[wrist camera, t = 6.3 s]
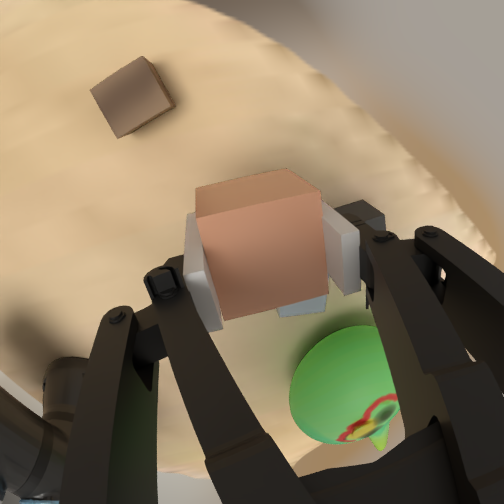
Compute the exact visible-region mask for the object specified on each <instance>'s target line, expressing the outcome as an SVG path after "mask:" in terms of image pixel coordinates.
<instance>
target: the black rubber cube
mask: <svg viewBox="0 0 504 504" xmlns="http://www.w3.org/2000/svg"><path fill="white" fill-rule="evenodd" d="M334 210H335V211H336V212H338V213H339V214H340V215H341V214H345V213H350V214H353V215H356V216H358V217H359V218H360V219H362V220H363V221H364V222H365V223H366V224H368V225H369V226H371V227H372V228H373V229H375V230H376V231H378V230H384V231H386V224H385V215H384V214H383V213H381V212H380V211H379V210H377V209H376V208H374V207H373V206H371V205H370V204H368V203H367V202H365V201H364V200H360V201H357V202H353V203H350V204H347V205H344V206H341V207H338V208H334Z"/></svg>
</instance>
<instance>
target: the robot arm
mask: <svg viewBox="0 0 504 504" xmlns="http://www.w3.org/2000/svg"><path fill="white" fill-rule="evenodd" d="M321 202H322V212H323V217H322V224H323V233H324V243H325V253H326V263H327V273H328V274H329V275H330V277H331V278H332V279H333V281H334V282H335V283H336V285H337V286H338V288H339V289H340V290H341V292H342V293H343V294H344V296H345V295H348V294H352V293H355V292H358V291H361V279H362V280H363V281H364V282H365V284H366V309H368V308H369V304H370V307H371V310H372V313H373V316H374V320H375V323H376V326H377V329H378V332H379V335H380V338H381V342H382V345H383V348H384V352H385V355H386V358H387V362H388V365H389V369H390V372H391V376H392V380H393V383H394V387H395V391H396V395H397V398H398V402H399V406H400V410H401V414H402V419H403V423H404V427H405V440H403V441H402V442H401V443H400V444H398V445H397V446H396V447H395V448H393V449H392V450H391V451H389V452H388V453H387V454H385V455H384V456H383V457H381V458H380V459H378V460H377V461H375V462H373V463H368V464H362V465H355V466H348V467H339V468H330V469H326V470H322V471H319V472H316V473H313V474H310V475H306V476H302V477H299V478H298V476H297V475H296V474H295V472H294V471H293V469H292V468H291V466H290V465H289V463H288V462H287V460H286V459H285V457H284V456H283V454H282V452H281V451H280V449H279V448H278V446H277V445H276V443H275V442H274V440H273V439H272V437H271V436H270V435H269V434H268V433H266V432H265V431H264V429H263V428H262V426H261V425H260V423H259V421H258V420H257V418H256V417H255V415H254V413H253V412H252V410H251V408H250V406H249V405H248V403H247V401H246V400H245V398H244V396H243V395H242V393H241V391H240V389H239V388H238V386H237V384H236V382H235V381H234V379H233V377H232V375H231V374H230V372H229V370H228V368H227V366H226V365H225V363H224V361H223V359H222V357H221V356H220V354H219V352H218V350H217V348H216V346H215V345H214V343H213V341H212V339H211V337H210V335H209V332H213V331H217V330H221V329H223V326H222V319H221V312H220V305H219V300H218V297H217V293H216V290H215V287H214V284H213V280H212V277H211V273H210V270H209V266H208V263H207V259H206V255H205V252H204V248H203V244H202V240H201V237H200V233H199V229H198V225H197V221H196V212H194V213H191V214H187V220H186V233H185V248H184V255H180V256H176V257H172V258H169V259H168V260H167V261H166V262H165V264H164V265H163V266H159V267H157V268H154V269H152V270H151V271H150V272H148V273H147V274H146V275H145V277H144V280H143V281H144V283H145V286H146V288H147V291H148V293H149V295H150V298H151V300H152V304H151V305H150V306H148V307H146V308H144V309H142V310H140V311H138V312H135V313H134V311H133V309H132V308H131V307H130V306H119V307H115V308H113V309H112V310H109V311H108V312H107V313H106V314H105V315H104V316H103V318H102V320H101V322H100V325H99V328H98V331H97V334H96V338H95V341H94V344H93V347H92V351H91V354H90V357H89V360H87V359H82V358H75V357H67V358H61V359H58V360H56V361H54V362H52V363H51V364H50V365H49V367H48V368H47V371H46V373H45V376H44V379H43V416H42V418H41V417H40V416H38V415H37V414H35V413H34V412H33V411H31V410H30V409H29V408H27V407H26V406H24V405H23V404H22V403H21V402H19V401H18V400H17V399H16V398H14V397H13V396H12V395H10V394H9V393H8V392H7V391H6V390H5V389H3V388H2V387H1V386H0V503H2V502H3V499H4V496H5V493H6V491H7V490H8V491H9V492H11V493H13V494H15V495H17V496H19V497H20V498H21V500H20V501H19V503H20V504H158V494H157V402H158V378H159V360H161V359H163V358H165V357H167V356H168V357H169V360H170V363H171V366H172V369H173V372H174V375H175V378H176V381H177V384H178V387H179V390H180V393H181V395H182V398H183V401H184V404H185V406H186V409H187V412H188V414H189V417H190V420H191V422H192V425H193V427H194V430H195V432H196V435H197V437H198V440H199V442H200V445H201V447H202V449H203V452H204V454H205V458H206V459H205V465H206V468H207V470H208V473H209V475H210V478H211V480H212V482H213V484H214V486H215V489H216V491H217V493H218V495H219V497H220V499H221V502H222V504H504V397H503V395H502V393H503V394H504V273H502V272H501V271H500V270H499V269H497V268H496V267H495V266H493V265H492V264H491V263H489V262H488V261H487V260H485V259H484V258H482V257H481V256H480V255H478V254H477V253H476V252H474V251H473V250H471V249H470V248H468V247H467V246H465V245H464V244H463V243H461V242H460V241H458V240H457V239H455V238H454V237H452V236H451V235H449V234H448V233H446V232H445V231H443V230H442V229H439V228H437V227H433V226H423V227H419V228H417V229H416V230H415V239H407V240H399V238H398V237H397V235H396V234H394V233H392V232H390V231H384V230H378V231H376V230H375V229H373V228H372V227H371V226H369V225H368V224H366V223H365V222H364V221H363V220H362V219H360V218H359V217H358V216H356V215H353V214H350V213H345V214H341V215H340V214H339V213H338V212H336V211H335V210H334V209H333V208H332V207H330V206H329V205H328V204H327V203H325V202H324V201H323V200H321ZM442 269H443V270H444V271H445V273H446V277H445V280H444V279H443V278H441V270H442ZM465 348H466V349H467V351H468V352H469V353H470V354H471V355H472V356H473V357H474V359H475V360H476V362H473V361H472V360H471V359H470V358H469V355H468V353H467V351H466V349H465Z"/></svg>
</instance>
